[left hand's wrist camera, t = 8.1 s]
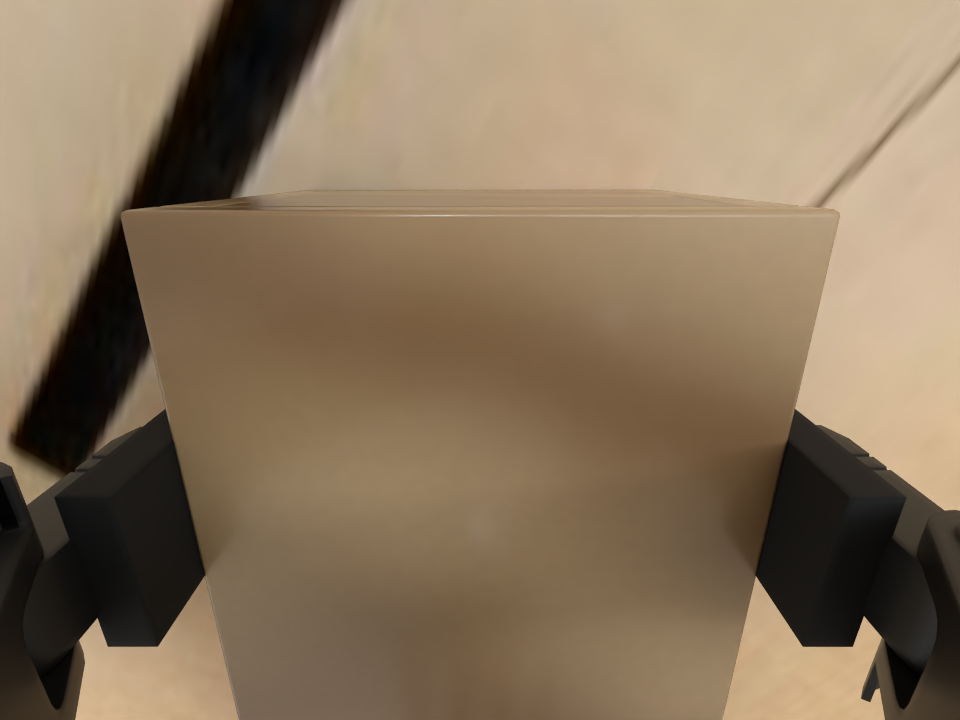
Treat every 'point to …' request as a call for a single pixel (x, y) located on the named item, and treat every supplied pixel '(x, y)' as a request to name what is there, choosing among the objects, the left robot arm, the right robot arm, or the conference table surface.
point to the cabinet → (480, 439)
